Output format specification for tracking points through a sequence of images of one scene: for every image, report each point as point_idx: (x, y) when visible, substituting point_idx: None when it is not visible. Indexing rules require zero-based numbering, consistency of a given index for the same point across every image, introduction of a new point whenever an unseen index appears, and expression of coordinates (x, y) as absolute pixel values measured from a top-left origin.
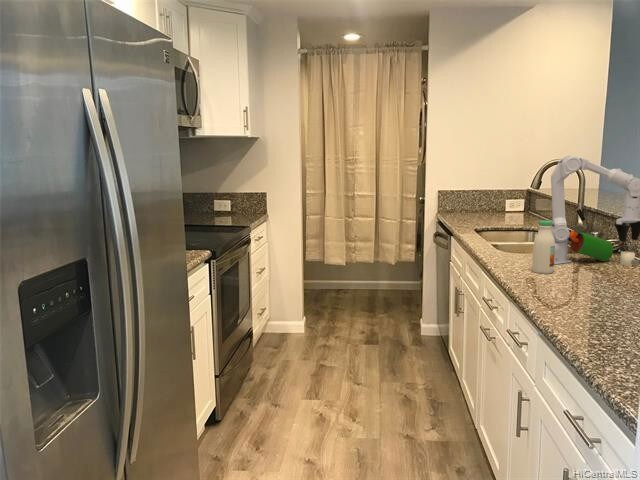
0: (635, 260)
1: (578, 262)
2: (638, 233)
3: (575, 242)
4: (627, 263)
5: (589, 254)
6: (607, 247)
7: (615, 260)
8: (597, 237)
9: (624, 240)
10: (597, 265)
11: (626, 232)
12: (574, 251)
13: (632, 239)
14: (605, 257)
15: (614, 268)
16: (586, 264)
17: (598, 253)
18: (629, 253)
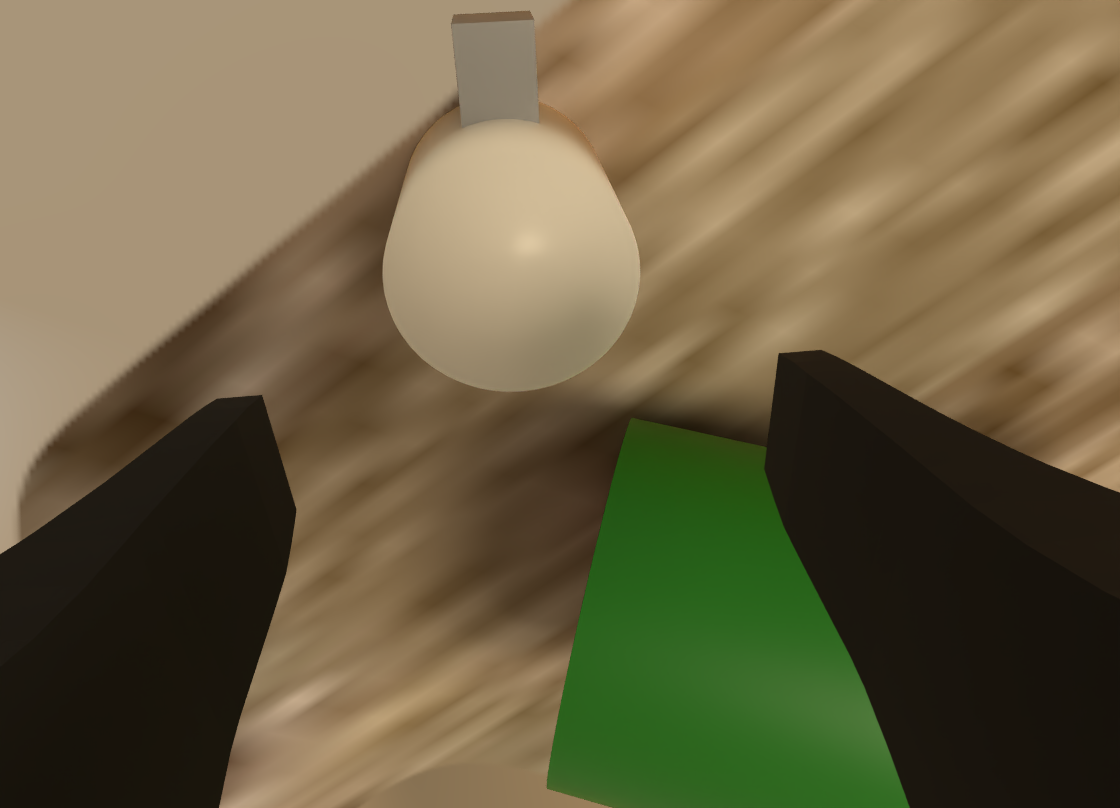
0: (506, 61)
1: None
2: (161, 509)
3: None
4: (588, 143)
5: None
6: (742, 541)
7: (425, 445)
8: (856, 791)
9: (847, 364)
10: (930, 326)
11: (1035, 481)
12: None
13: (291, 496)
14: (714, 438)
15: (949, 78)
16: (975, 416)
17: None
18: (571, 204)
